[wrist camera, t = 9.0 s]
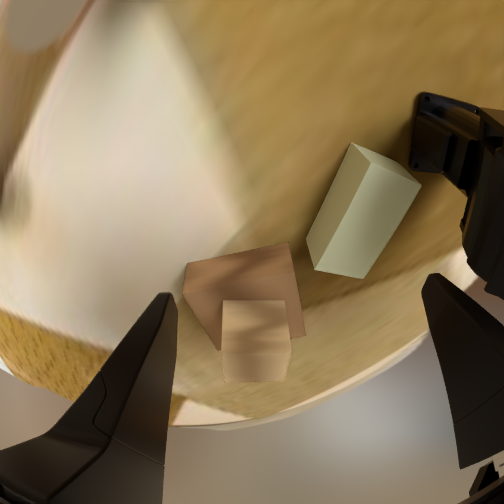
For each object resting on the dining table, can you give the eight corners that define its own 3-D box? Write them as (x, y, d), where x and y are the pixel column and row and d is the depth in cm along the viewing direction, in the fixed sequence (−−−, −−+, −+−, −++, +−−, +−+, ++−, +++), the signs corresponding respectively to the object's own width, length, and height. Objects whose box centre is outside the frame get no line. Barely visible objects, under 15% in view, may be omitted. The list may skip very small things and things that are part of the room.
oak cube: (284, 300, 24) (291, 352, 20) (278, 334, 27) (283, 381, 23) (223, 300, 24) (221, 353, 20) (225, 334, 27) (224, 382, 23)
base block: (287, 239, 25) (294, 271, 22) (300, 304, 31) (306, 335, 27) (187, 260, 26) (182, 293, 23) (218, 319, 32) (217, 350, 29)
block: (397, 161, 20) (421, 185, 17) (349, 247, 26) (363, 279, 22) (349, 141, 19) (371, 162, 16) (305, 237, 25) (314, 269, 22)
